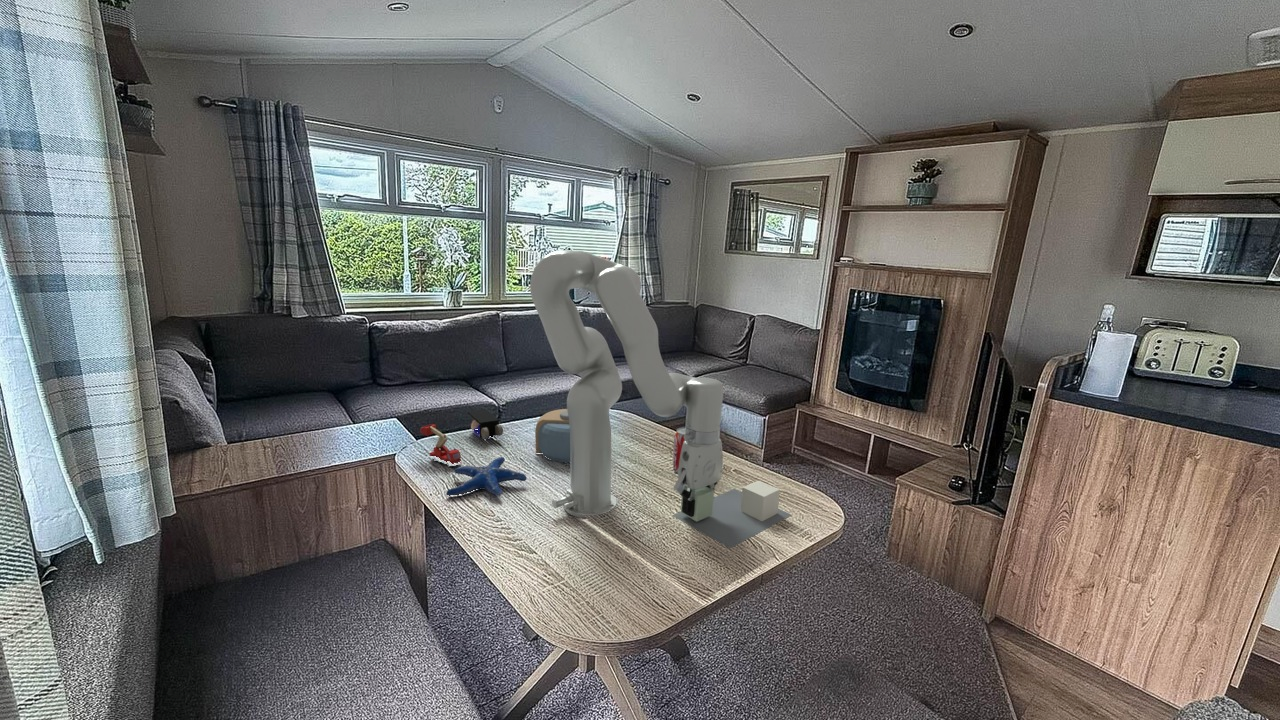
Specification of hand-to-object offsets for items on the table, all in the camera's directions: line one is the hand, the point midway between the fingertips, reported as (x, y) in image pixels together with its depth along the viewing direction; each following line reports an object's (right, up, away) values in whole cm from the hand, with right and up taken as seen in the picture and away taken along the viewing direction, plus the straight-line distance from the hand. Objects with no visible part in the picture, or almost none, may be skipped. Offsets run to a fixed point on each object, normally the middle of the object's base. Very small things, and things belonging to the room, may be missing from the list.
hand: (696, 509), depth 118 cm
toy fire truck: (-69, +5, +30) cm, 75 cm away
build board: (+8, -3, +2) cm, 9 cm away
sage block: (0, -1, 0) cm, 1 cm away
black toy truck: (-62, +9, +49) cm, 80 cm away
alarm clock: (-34, +6, +40) cm, 53 cm away
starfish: (-53, +1, +15) cm, 55 cm away
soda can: (0, +3, +27) cm, 27 cm away
